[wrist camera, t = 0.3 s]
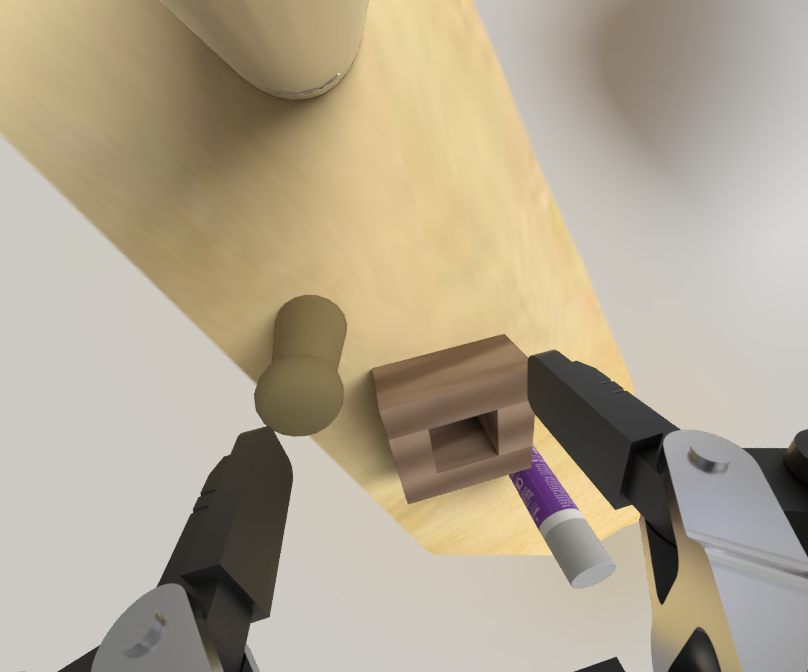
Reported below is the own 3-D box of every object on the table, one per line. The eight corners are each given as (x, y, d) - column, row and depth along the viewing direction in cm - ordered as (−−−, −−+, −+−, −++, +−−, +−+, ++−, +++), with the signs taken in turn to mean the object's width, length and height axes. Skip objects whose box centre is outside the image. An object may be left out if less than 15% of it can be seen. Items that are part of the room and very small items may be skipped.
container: (492, 442, 39) (567, 577, 26) (525, 427, 39) (617, 556, 26) (499, 462, 41) (572, 594, 29) (531, 448, 41) (618, 575, 28)
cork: (260, 325, 26) (214, 418, 16) (311, 280, 25) (294, 351, 15) (312, 367, 29) (300, 465, 19) (360, 328, 28) (372, 412, 18)
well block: (372, 368, 30) (379, 410, 25) (504, 334, 31) (537, 367, 26) (398, 457, 37) (408, 504, 32) (505, 427, 38) (531, 467, 33)
